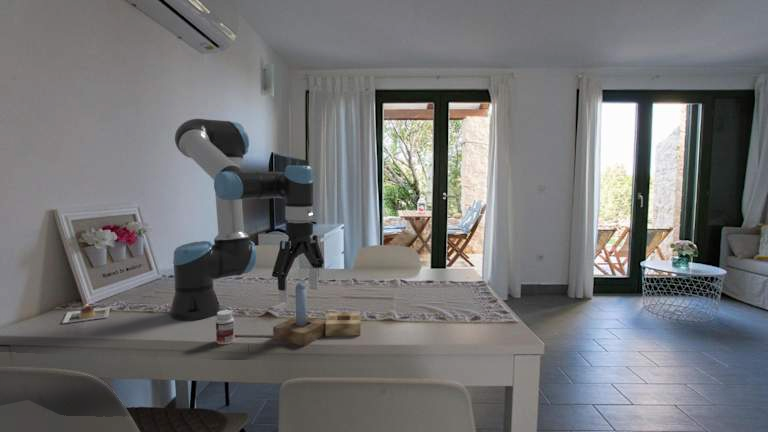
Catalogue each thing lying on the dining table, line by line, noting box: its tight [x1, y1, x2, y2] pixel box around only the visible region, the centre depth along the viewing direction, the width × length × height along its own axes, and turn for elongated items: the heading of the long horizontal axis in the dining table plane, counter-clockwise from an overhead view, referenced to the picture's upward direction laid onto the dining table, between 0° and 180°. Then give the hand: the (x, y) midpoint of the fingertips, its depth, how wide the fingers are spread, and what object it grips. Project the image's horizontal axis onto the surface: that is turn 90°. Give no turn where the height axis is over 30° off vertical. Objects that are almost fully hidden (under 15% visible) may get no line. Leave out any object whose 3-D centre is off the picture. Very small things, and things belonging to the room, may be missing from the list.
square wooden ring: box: [272, 316, 326, 347], centre depth 123 cm, size 11×11×4 cm
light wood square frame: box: [325, 311, 362, 337], centre depth 129 cm, size 10×10×4 cm
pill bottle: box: [215, 309, 236, 345], centre depth 119 cm, size 5×5×8 cm
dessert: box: [61, 302, 111, 325], centre depth 140 cm, size 12×12×5 cm
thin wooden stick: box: [235, 333, 273, 338], centre depth 123 cm, size 16×1×1 cm, turn 88°
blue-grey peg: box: [294, 282, 308, 328], centre depth 123 cm, size 3×3×15 cm
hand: (299, 295), depth 123 cm, fingers open, 13 cm apart
